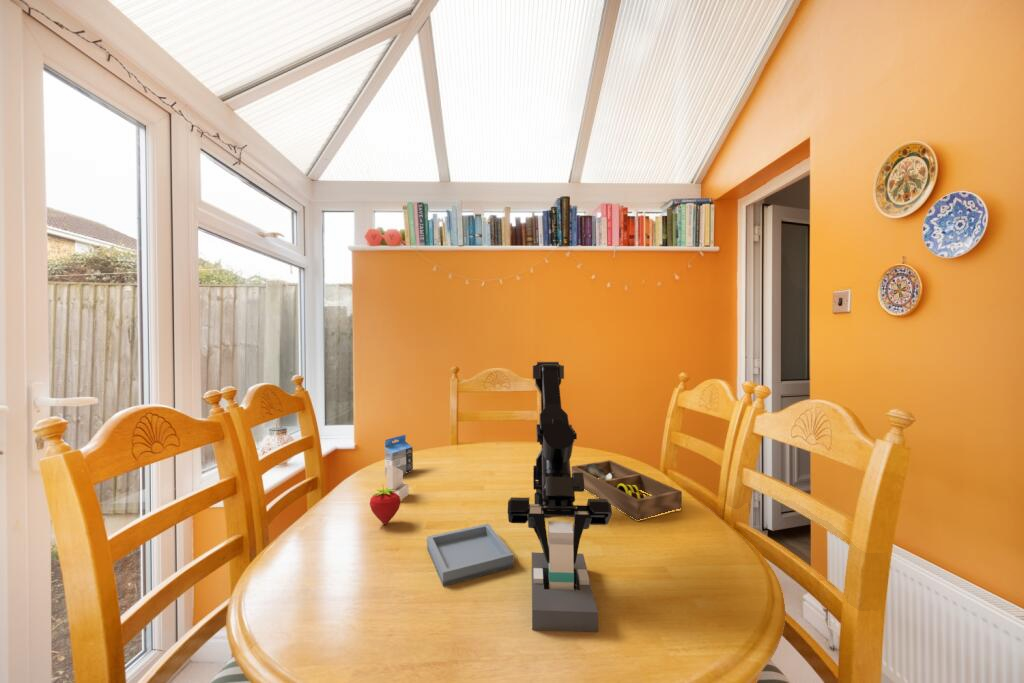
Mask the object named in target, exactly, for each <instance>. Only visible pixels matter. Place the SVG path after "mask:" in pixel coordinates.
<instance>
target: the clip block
mask: <svg viewBox="0 0 1024 683" xmlns="http://www.w3.org/2000/svg"><path fill="white" fill-rule="evenodd" d="M587 568H588V567H587V564H586V560H585V555H584V553H577V557H576V562H575V564H574V586H575V587H576V590H575V589H574V590H550V589H549V588H548V589H547V588H546V589H545V585H547V586H549V570H548V563H547V561H546V558H545V555H544V552H534V551H533V552H531V623H532V625H531V626H532V627H531V630H533V631H556V632H557V631H558V632H559V631H561V632H589V633H598V632H599V611H598V606H597V604H596V599H595V595H594V591H593V587H592V582H591V580H590V576H589V571H588V569H587Z"/></svg>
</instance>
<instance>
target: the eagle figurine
mask: <svg viewBox="0 0 1024 683" xmlns="http://www.w3.org/2000/svg"><path fill="white" fill-rule="evenodd" d="M586 464H587V465H586V466H585V470H586V472H587V473H589V474H591V475H593V476H595V477H598V478H599V479H600V480H602V481H603V480H608V479H613V478H615V477H614V470H613V473H612V472H611V474H610V473H609V474H608V475H606V476H605V474H606V473H605V471H604V470H603V469H601V468H598V467H597V466H596V465H595V464H589V463H586Z"/></svg>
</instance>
